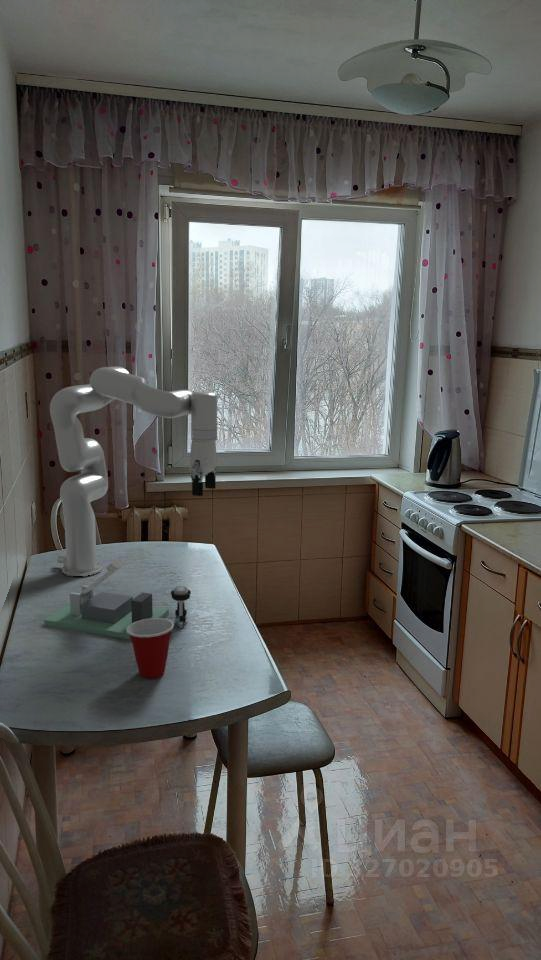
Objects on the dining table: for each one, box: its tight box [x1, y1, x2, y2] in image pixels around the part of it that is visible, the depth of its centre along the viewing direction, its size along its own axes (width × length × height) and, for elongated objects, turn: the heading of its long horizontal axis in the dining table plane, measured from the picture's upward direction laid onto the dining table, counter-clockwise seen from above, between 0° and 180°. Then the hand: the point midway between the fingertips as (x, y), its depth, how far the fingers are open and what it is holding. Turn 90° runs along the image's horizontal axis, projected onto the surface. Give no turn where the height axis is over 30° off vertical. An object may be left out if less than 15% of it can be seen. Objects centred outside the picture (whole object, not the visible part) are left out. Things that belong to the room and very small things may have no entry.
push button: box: [170, 585, 191, 629], centre depth 189 cm, size 7×5×10 cm
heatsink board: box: [43, 584, 170, 641], centre depth 191 cm, size 28×18×8 cm, turn 72°
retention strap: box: [80, 557, 126, 597], centre depth 191 cm, size 17×4×2 cm
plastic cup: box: [126, 618, 175, 680], centre depth 162 cm, size 11×11×12 cm
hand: (204, 491), depth 209 cm, fingers open, 9 cm apart
